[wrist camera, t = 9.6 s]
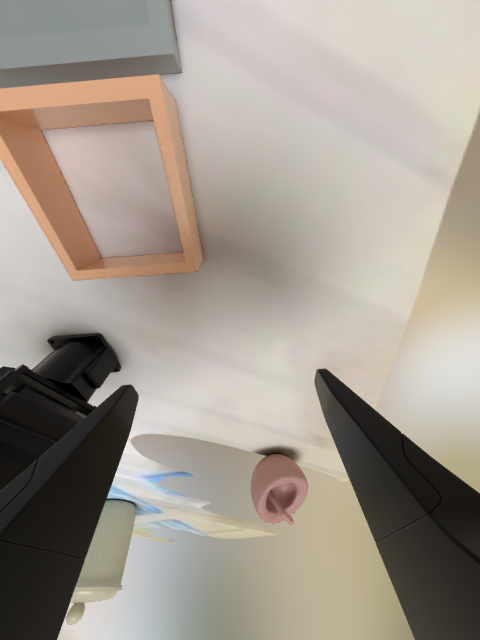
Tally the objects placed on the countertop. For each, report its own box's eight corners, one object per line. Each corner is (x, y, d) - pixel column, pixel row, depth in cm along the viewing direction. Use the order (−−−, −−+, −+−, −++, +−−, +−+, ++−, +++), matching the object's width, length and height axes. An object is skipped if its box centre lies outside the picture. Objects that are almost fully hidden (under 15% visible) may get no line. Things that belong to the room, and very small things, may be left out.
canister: (75, 496, 57) (5, 629, 40) (135, 494, 58) (92, 625, 40) (100, 512, 67) (54, 623, 50) (151, 510, 68) (123, 620, 50)
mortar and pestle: (310, 453, 45) (331, 523, 35) (275, 469, 50) (285, 535, 40) (273, 439, 40) (285, 515, 31) (239, 459, 45) (240, 529, 36)
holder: (97, 267, 19) (72, 280, 16) (21, 114, 13) (-40, 91, 10) (203, 259, 19) (197, 271, 16) (175, 101, 13) (158, 74, 10)
